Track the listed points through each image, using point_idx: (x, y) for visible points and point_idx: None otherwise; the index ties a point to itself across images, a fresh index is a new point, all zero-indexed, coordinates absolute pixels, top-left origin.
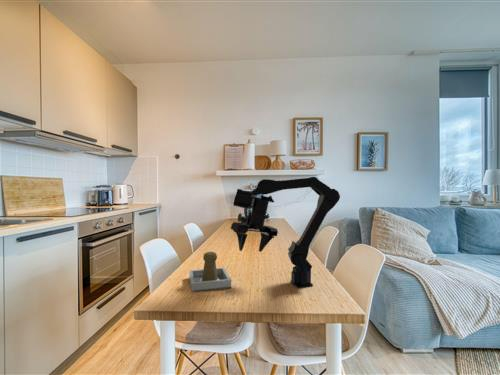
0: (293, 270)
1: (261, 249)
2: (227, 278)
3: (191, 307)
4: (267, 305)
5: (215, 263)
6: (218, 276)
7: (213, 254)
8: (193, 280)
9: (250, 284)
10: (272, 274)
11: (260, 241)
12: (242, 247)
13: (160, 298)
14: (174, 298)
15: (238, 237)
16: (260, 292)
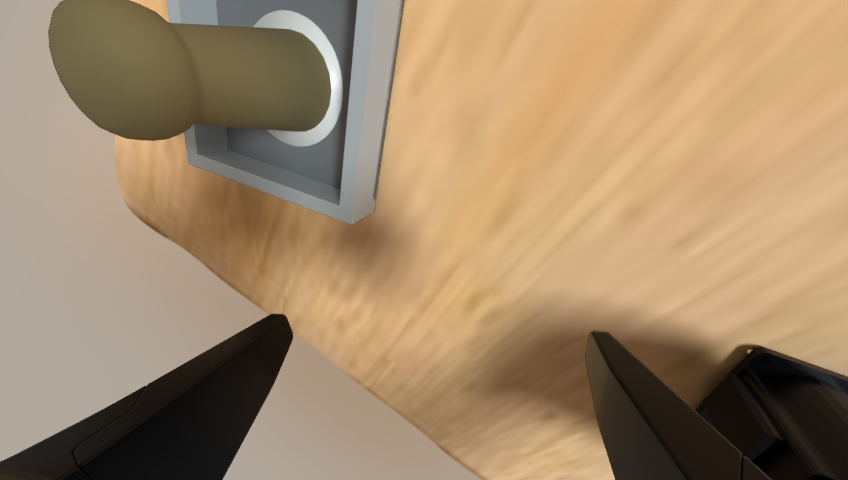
0: (783, 459)
1: (594, 400)
2: (341, 193)
3: (228, 265)
4: (431, 400)
5: (223, 104)
6: (353, 19)
7: (119, 128)
8: (191, 129)
9: (484, 228)
10: (797, 159)
11: (682, 475)
12: (262, 388)
13: (143, 151)
14: (179, 177)
15: (68, 453)
16: (471, 325)
